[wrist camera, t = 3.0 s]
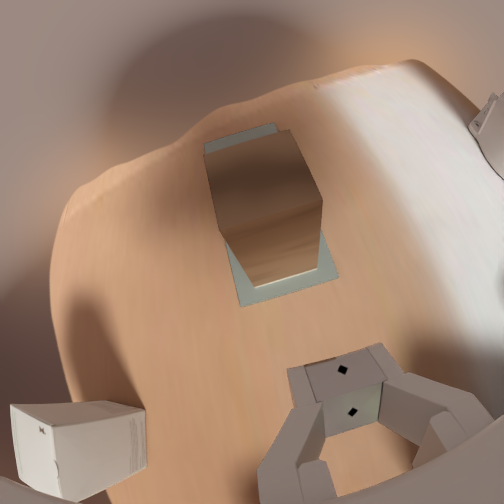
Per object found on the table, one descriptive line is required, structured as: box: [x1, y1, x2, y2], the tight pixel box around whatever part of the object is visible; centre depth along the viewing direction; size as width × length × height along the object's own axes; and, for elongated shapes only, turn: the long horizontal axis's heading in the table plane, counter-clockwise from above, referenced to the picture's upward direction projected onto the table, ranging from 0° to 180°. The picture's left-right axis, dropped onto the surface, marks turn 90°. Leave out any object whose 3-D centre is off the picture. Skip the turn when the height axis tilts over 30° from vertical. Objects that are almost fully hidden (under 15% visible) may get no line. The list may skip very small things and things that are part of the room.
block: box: [203, 129, 323, 288], centre depth 27 cm, size 7×7×14 cm
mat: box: [204, 123, 339, 307], centre depth 36 cm, size 25×11×1 cm, turn 14°
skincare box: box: [10, 400, 147, 503], centre depth 20 cm, size 8×7×16 cm
